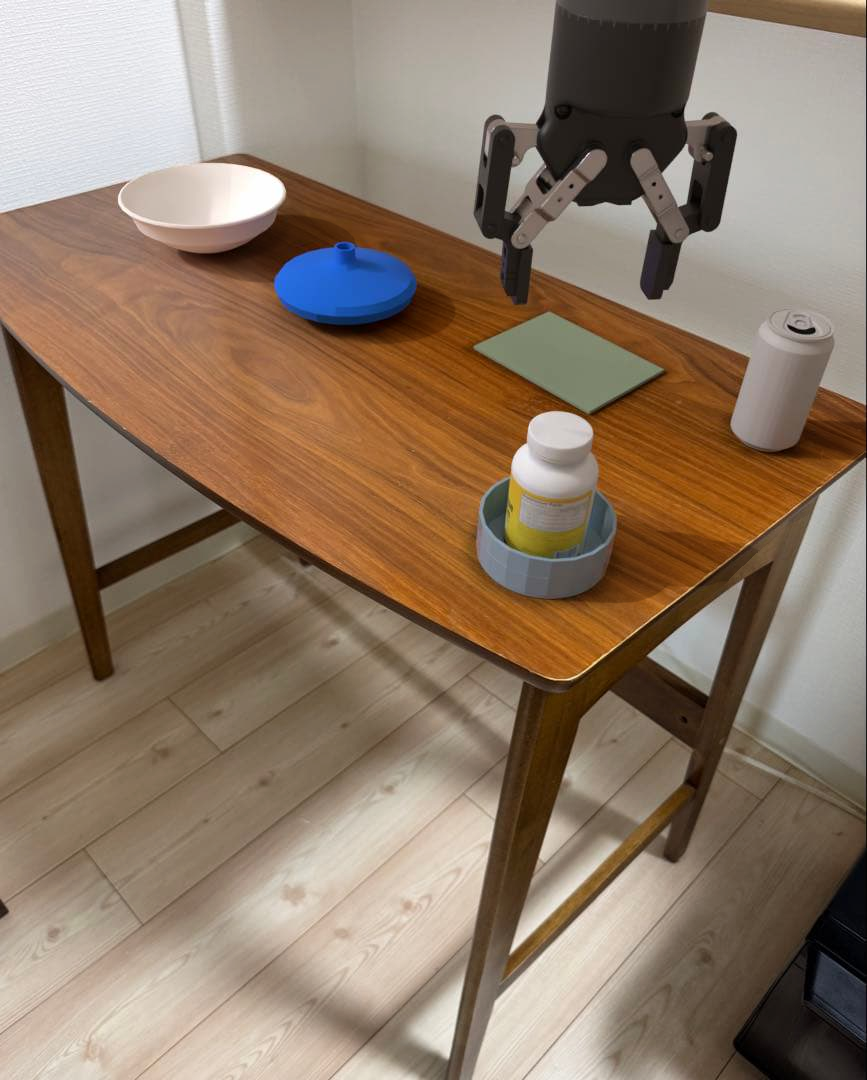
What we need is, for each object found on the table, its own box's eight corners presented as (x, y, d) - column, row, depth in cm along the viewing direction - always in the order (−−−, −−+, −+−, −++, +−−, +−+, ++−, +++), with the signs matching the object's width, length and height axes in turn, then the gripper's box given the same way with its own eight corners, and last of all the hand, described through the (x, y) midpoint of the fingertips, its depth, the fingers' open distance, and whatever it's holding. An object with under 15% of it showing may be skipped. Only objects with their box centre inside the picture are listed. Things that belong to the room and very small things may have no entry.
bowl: (98, 266, 107) (86, 214, 103) (170, 203, 121) (162, 154, 117) (256, 288, 104) (250, 235, 100) (311, 221, 119) (308, 172, 114)
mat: (663, 372, 94) (664, 369, 93) (589, 414, 87) (589, 411, 87) (548, 314, 102) (549, 311, 102) (473, 349, 96) (473, 345, 95)
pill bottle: (538, 510, 76) (555, 393, 68) (599, 549, 72) (625, 430, 65) (485, 546, 72) (497, 426, 64) (547, 588, 69) (567, 468, 61)
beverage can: (730, 451, 84) (767, 336, 76) (725, 413, 88) (759, 300, 80) (801, 460, 83) (845, 344, 75) (792, 421, 88) (833, 308, 80)
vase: (248, 300, 102) (242, 240, 97) (359, 262, 110) (358, 205, 105) (331, 357, 93) (328, 294, 89) (445, 312, 101) (447, 252, 97)
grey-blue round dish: (536, 492, 78) (542, 455, 75) (634, 555, 73) (644, 518, 70) (449, 547, 73) (451, 509, 70) (548, 620, 67) (554, 582, 64)
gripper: (509, 16, 41) (483, 332, 52) (798, 16, 43) (715, 321, 54) (477, -20, 47) (460, 274, 58) (736, -18, 49) (672, 265, 60)
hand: (584, 296), depth 56 cm, fingers open, 8 cm apart
